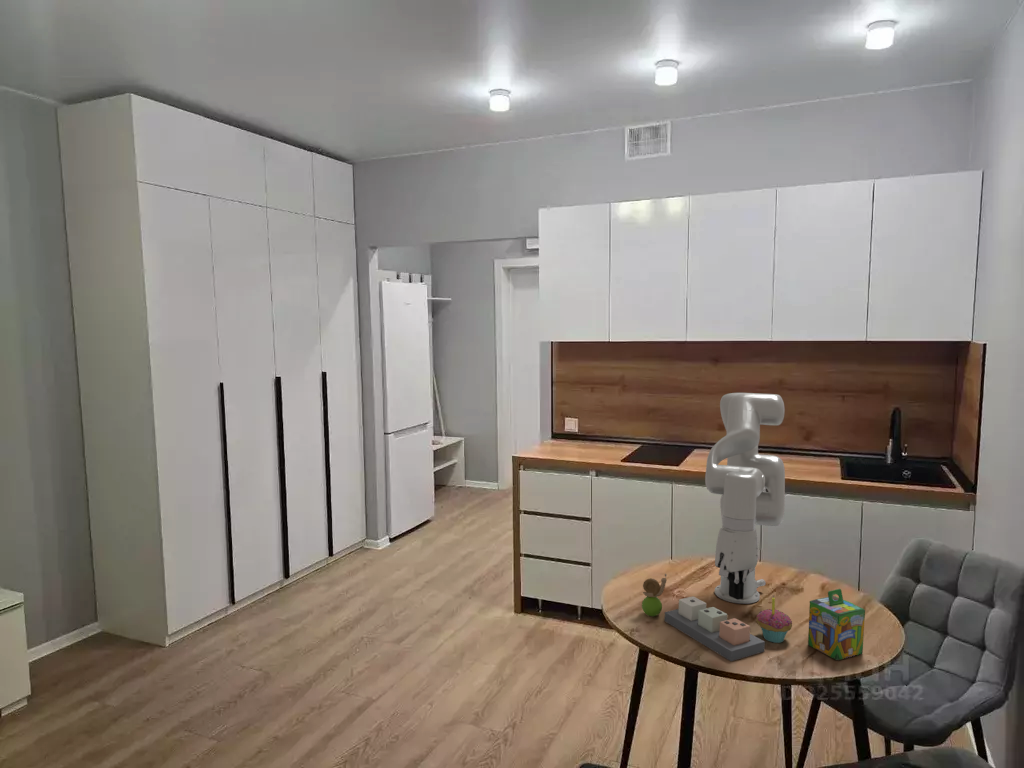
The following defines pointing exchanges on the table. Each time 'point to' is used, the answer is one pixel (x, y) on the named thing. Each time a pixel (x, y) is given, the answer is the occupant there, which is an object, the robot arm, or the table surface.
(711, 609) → the two pip tile
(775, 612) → the cupcake
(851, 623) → the chalk box
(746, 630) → the pink dice cube
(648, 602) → the snail figurine
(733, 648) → the button board
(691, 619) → the one pip tile
